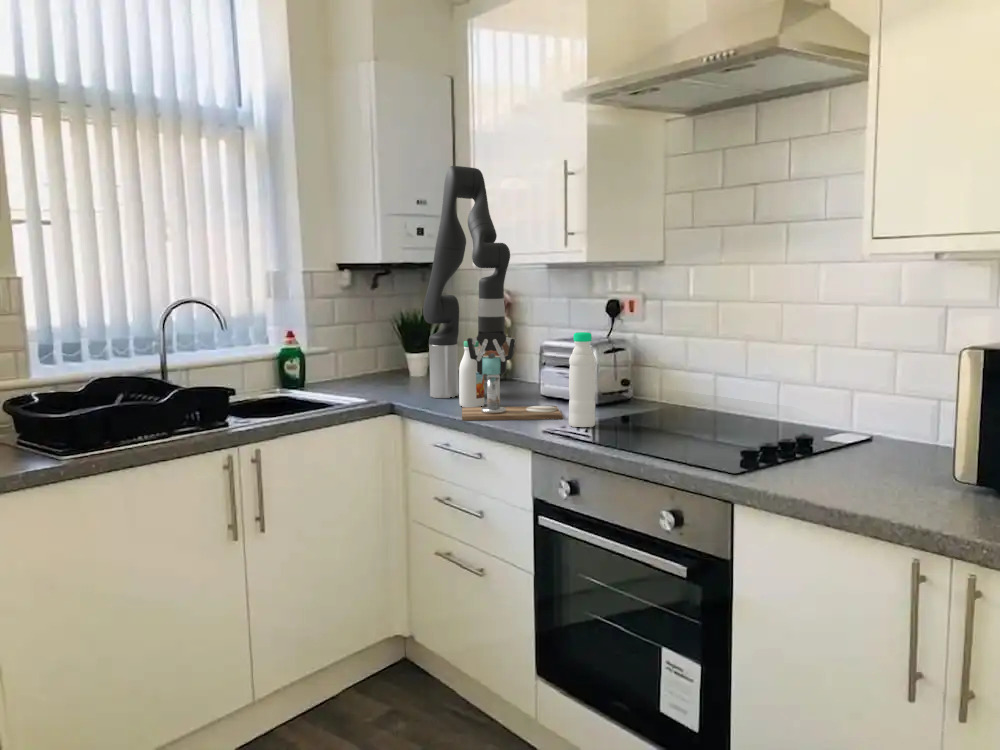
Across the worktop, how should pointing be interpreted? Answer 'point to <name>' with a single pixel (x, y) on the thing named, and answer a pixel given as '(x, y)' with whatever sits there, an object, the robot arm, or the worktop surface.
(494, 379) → the post
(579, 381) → the white bottle
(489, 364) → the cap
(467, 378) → the milk bottle
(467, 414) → the board
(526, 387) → the worktop surface
